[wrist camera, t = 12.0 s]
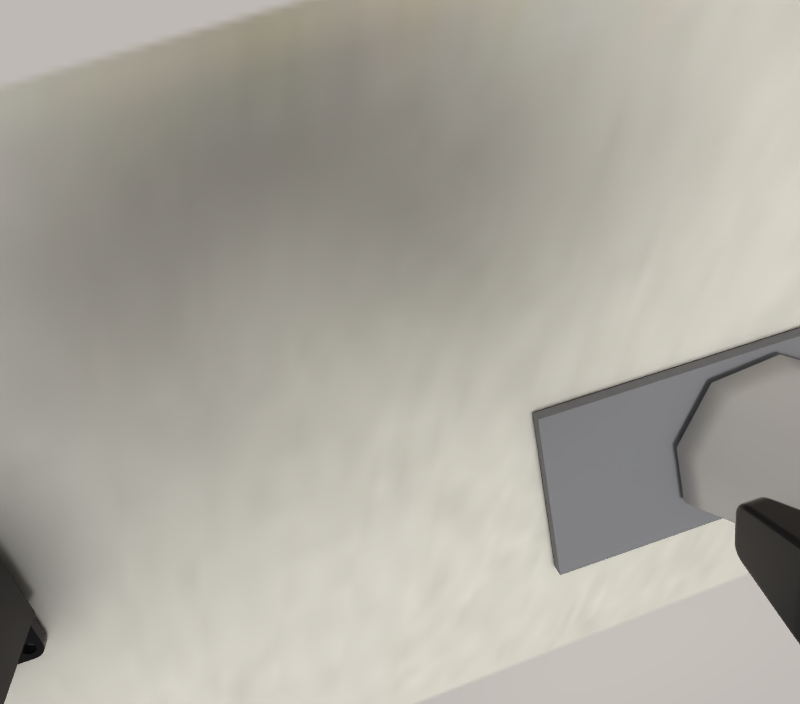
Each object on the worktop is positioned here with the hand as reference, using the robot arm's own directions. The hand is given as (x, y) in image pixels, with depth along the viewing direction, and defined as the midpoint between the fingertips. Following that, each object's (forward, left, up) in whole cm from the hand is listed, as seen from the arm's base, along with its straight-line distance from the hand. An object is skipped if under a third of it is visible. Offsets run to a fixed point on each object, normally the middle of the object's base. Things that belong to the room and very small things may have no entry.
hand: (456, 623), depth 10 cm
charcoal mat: (+16, -10, -13) cm, 23 cm away
